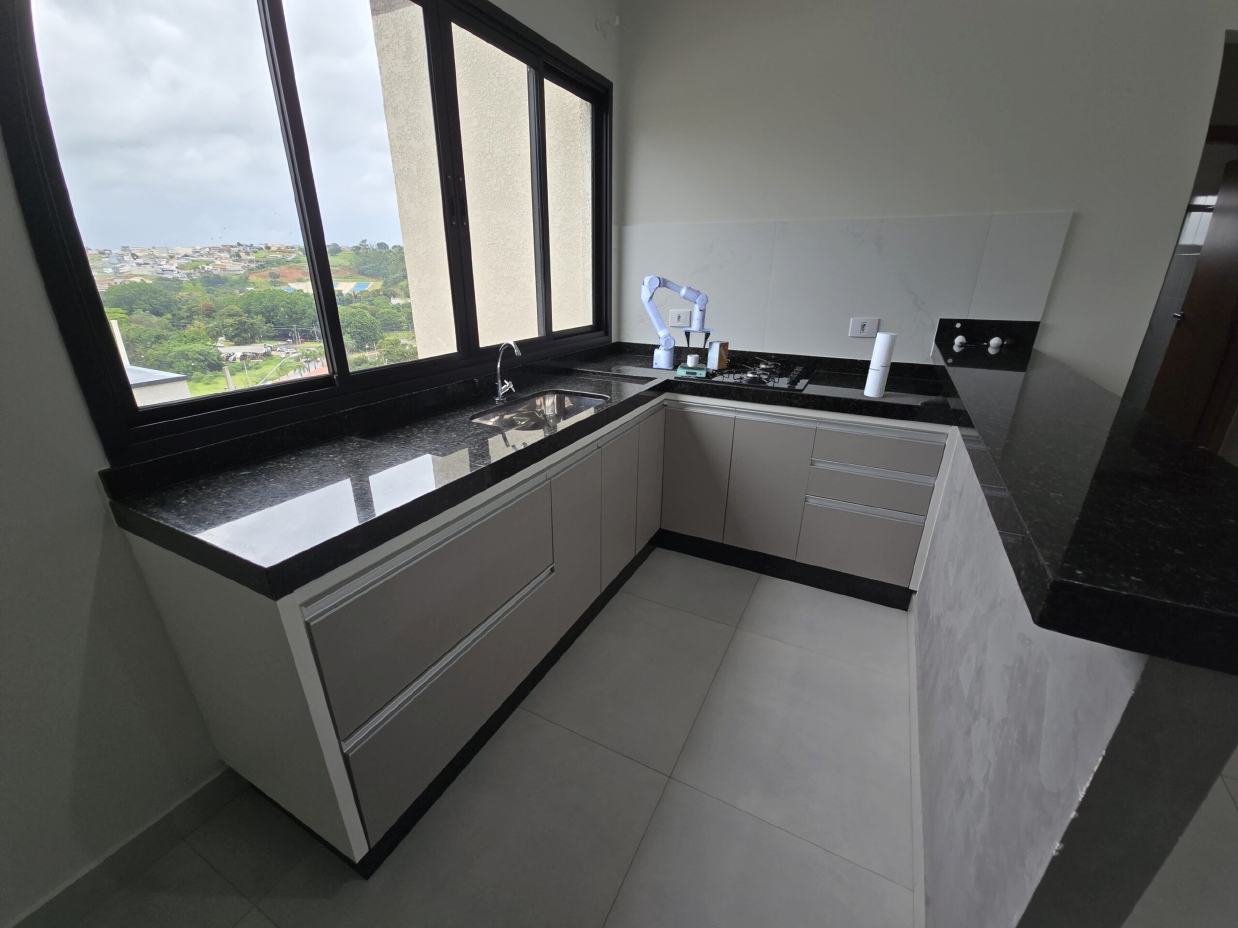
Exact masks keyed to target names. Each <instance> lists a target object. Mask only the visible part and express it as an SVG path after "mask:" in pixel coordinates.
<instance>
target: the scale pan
mask: <svg viewBox="0 0 1238 928" xmlns="http://www.w3.org/2000/svg"><path fill="white" fill-rule="evenodd" d="M679 366H680V368H690V369H703V370H704V367H706V364H704V363H699V364H698V366H689V365H688V364H687V362H681V364H680V365H679Z"/></svg>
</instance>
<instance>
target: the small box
mask: <svg viewBox="0 0 1238 928" xmlns="http://www.w3.org/2000/svg"><path fill="white" fill-rule="evenodd" d="M708 342H709V343H708V353H707V364H706V365H707V366H706V368H707V369H711V370H723V369H727V365H728V356H729V355H728V354H729V347H730V346H729V345H730V342H729V341H725V340H714V341H708Z"/></svg>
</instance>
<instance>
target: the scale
mask: <svg viewBox="0 0 1238 928" xmlns="http://www.w3.org/2000/svg"><path fill="white" fill-rule="evenodd" d="M707 371H708V368H707V366H705V367H704V370H703V369H690V368H680V365H679V366H678V367H677V370H676V376H684V377H685V376H686V377H687V376H688V377H697V378H698V377H699V378H706V376H707Z"/></svg>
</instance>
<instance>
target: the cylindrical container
mask: <svg viewBox="0 0 1238 928" xmlns="http://www.w3.org/2000/svg"><path fill="white" fill-rule="evenodd" d="M897 338H898V333H895V332H886V331H884V332H883V331H879V332H877V334H876V337H875V342H874V346H873V349H872V355H871V360H870V364H869V369H868V373H867V378H866V383H865V387H864V392H863V395H864V396H866V397H870V398H883V397H884V394H885V389H886V385H887V379H888V376H889V372H890V368H891V364H892V359H893V354H894V350H895V345H896V342H897Z"/></svg>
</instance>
